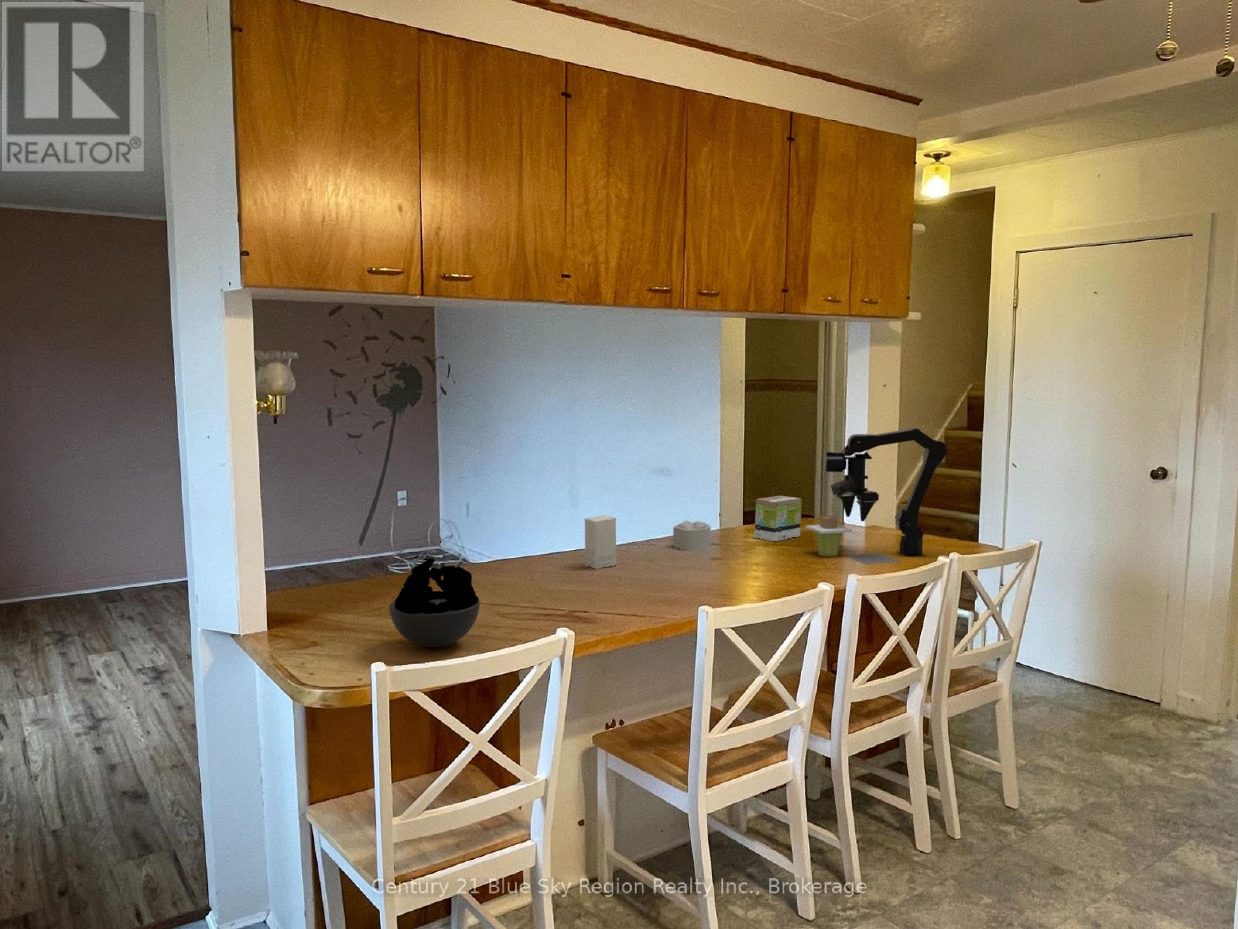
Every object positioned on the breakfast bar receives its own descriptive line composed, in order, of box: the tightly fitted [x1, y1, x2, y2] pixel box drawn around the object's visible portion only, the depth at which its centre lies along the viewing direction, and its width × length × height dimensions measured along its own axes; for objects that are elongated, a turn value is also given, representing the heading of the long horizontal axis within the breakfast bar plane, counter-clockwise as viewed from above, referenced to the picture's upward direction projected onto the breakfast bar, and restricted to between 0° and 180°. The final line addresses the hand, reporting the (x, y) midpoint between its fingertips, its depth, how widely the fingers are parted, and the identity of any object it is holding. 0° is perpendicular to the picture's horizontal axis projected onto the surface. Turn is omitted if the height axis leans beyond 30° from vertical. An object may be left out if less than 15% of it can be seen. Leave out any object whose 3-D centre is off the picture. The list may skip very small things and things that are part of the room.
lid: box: [805, 515, 853, 534], centre depth 291 cm, size 11×11×4 cm
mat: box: [845, 552, 903, 565], centre depth 285 cm, size 13×13×1 cm
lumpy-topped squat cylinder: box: [672, 520, 712, 551], centre depth 307 cm, size 10×13×9 cm
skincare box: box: [584, 514, 617, 569], centre depth 277 cm, size 8×7×16 cm
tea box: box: [754, 495, 802, 542], centre depth 322 cm, size 15×10×15 cm
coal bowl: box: [388, 557, 481, 648], centre depth 198 cm, size 20×20×19 cm
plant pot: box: [815, 531, 843, 557], centre depth 292 cm, size 9×9×9 cm
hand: (855, 518), depth 293 cm, fingers open, 9 cm apart
